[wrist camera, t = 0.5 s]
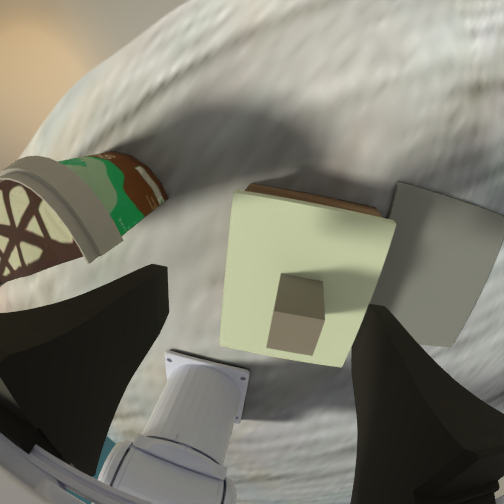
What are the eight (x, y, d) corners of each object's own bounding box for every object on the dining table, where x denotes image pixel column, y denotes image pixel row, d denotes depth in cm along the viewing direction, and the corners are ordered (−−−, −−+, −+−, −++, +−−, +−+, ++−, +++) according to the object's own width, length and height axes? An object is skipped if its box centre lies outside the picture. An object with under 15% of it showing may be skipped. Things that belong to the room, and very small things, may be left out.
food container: (157, 107, 17) (44, 116, 8) (187, 192, 19) (97, 261, 11) (45, 171, 21) (-47, 211, 12) (70, 235, 23) (-12, 294, 14)
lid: (341, 361, 20) (343, 407, 16) (221, 339, 20) (204, 383, 17) (393, 220, 15) (417, 253, 11) (235, 189, 16) (213, 214, 12)
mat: (449, 344, 21) (451, 347, 21) (348, 332, 22) (348, 335, 22) (508, 217, 16) (510, 219, 15) (397, 181, 17) (399, 182, 16)
